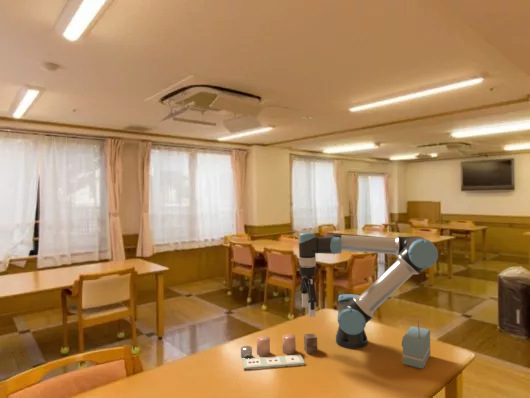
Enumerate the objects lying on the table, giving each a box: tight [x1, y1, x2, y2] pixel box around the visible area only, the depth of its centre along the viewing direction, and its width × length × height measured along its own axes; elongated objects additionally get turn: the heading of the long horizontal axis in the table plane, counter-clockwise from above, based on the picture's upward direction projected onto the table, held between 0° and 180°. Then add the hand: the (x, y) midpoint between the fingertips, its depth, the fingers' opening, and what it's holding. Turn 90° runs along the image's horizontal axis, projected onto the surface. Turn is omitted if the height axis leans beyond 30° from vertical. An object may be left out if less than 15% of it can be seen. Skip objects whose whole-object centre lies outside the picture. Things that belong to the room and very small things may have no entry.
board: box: [242, 354, 306, 370], centre depth 149 cm, size 26×8×1 cm, turn 97°
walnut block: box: [303, 333, 318, 355], centre depth 161 cm, size 5×5×7 cm
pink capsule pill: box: [256, 335, 271, 357], centre depth 159 cm, size 6×6×7 cm
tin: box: [240, 345, 253, 359], centre depth 156 cm, size 5×5×4 cm
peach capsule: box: [282, 333, 297, 355], centre depth 160 cm, size 6×6×7 cm
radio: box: [401, 320, 431, 369], centre depth 149 cm, size 16×9×20 cm, turn 145°
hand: (308, 311), depth 161 cm, fingers open, 13 cm apart
